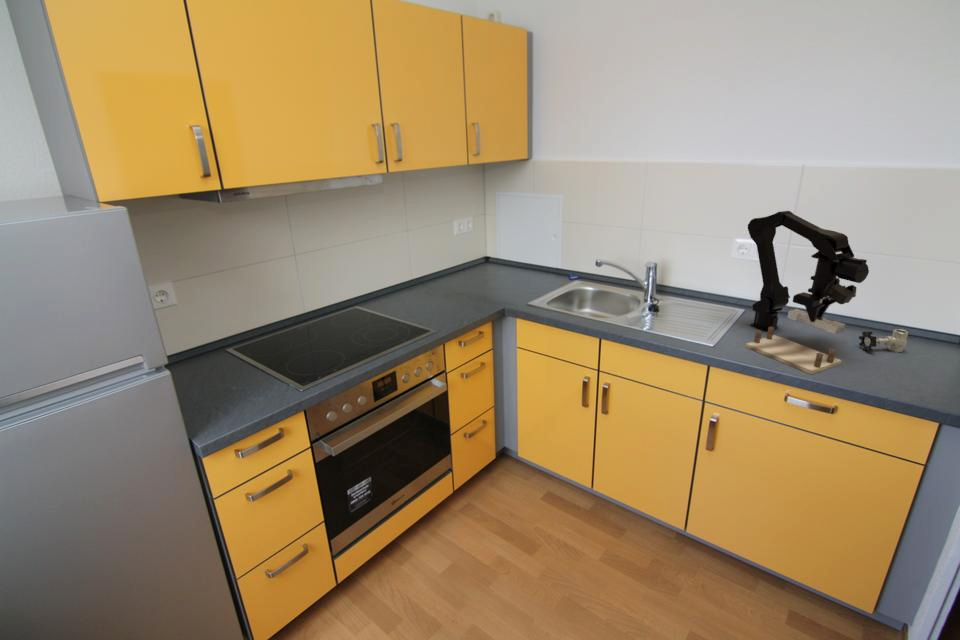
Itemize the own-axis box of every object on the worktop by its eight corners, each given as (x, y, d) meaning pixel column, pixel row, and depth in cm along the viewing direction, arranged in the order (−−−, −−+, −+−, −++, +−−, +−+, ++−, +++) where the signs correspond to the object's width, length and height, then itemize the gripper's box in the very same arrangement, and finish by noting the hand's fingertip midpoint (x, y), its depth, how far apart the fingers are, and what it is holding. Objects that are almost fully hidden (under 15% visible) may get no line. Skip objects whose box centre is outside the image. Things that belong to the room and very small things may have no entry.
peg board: (744, 346, 164) (747, 332, 162) (773, 338, 170) (776, 324, 168) (811, 374, 146) (815, 358, 144) (840, 363, 151) (844, 348, 149)
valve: (894, 345, 162) (856, 346, 162) (900, 326, 159) (861, 327, 160) (910, 354, 156) (870, 355, 156) (916, 335, 153) (876, 335, 154)
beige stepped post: (787, 318, 167) (788, 311, 166) (795, 315, 169) (796, 308, 168) (835, 334, 154) (837, 326, 153) (843, 331, 155) (845, 324, 154)
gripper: (833, 286, 144) (821, 335, 150) (872, 276, 152) (859, 323, 158) (796, 276, 154) (786, 323, 160) (834, 267, 161) (823, 312, 167)
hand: (815, 320), depth 161 cm, fingers closed on beige stepped post, 2 cm apart
